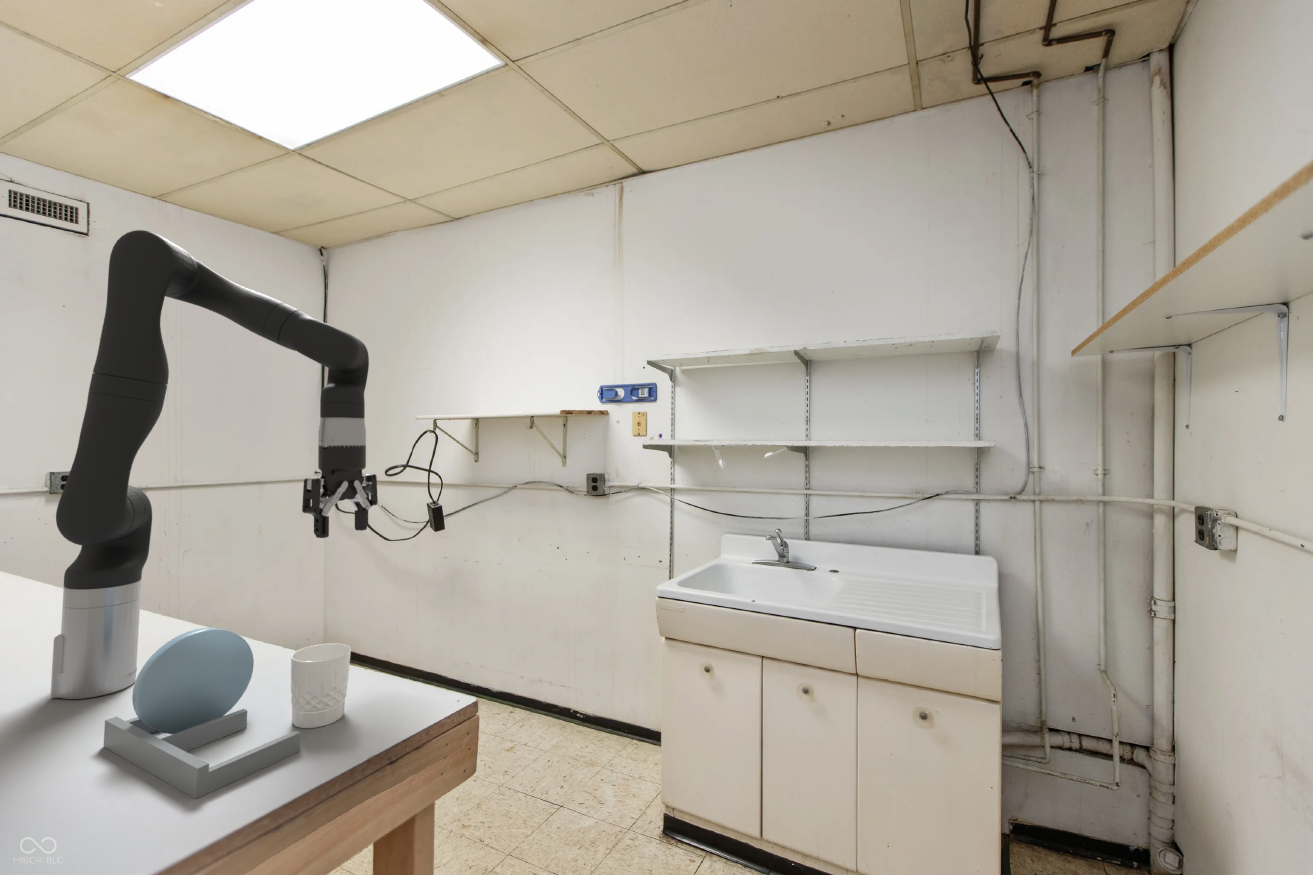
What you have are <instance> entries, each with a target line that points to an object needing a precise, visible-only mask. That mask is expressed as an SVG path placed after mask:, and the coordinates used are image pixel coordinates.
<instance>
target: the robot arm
mask: <svg viewBox="0 0 1313 875" xmlns="http://www.w3.org/2000/svg"><path fill="white" fill-rule="evenodd" d="M108 262H109V263H108V274H107V275H108V277H107V279H108V280H107V292H106V293H107V294H106V305H105V313H104V318H103V324H102V328H101V334H100V338H99V345H98V350H97V354H96V359H95V362H94V365H93V366H94V367H93V370H92V374H91V377H90V378H91V379H90V382H89V388H88V393H87V400H86V407H85V412H84V416H83V420H82V424H81V429H80V432H79V439H78V444H77V449H76V453H75V456H74V459H73V462H72V465H71V468H70V470H69V474H68V476H67V479H66V482H65V484H64V487H63V490H62V493H61V495H60V498H59V501H58V505H57V508H56V513H55V522H56V527H57V529H58V531H59V533H60V534H61V535H62V536H63V538H64V539H66V540H67V542H70V543H72V544H74V545H78V546H80V547H81V548H80V551H79V553H78V555H77V557H76V558H75V559H74V561H73V562H72V563H71V564H70V565H69V566H68V567H67V568H66V570H65V571H64V575H63V590H62V591H63V592H62V609H61V611H62V612H61V628H60V634H58V635H56V636H55V637H54V638H53V645H52V646H53V648H52V663H51V665H52V667H51V681H50V695H49V696H50V697H49V698H50V699H58V698H59V699H65V700H79V699H81V700H82V699H89V698H94V697H101V696H105V695H110V694H113V693H116V692H119V691H122V690H124V689H126V688H128V687H130V686H132V685H134V684H135V681H136V679H137V670H138V668H137V667H138V666H137V664H138V650H139V648H138V647H139V630H140V629H139V627H140V611H141V593H142V574H143V568H144V567H145V565H146V562H147V560H148V557H149V552H150V544H151V534H152V528H153V527H152V525H153V524H152V523H153V508H152V504H151V501H150V498H149V497H148V496H147V494H146V493H145V492H144V491H143V490H141V489H139V487H138V488H137V487H136V486H133V485H129V484H130V482H129V481H130V475H131V472H132V467H133V464H134V460H135V459H136V456H137V453H138V452H139V450H140V448H141V447H142V445H143V444H144V442H145V441H146V440H147V438H148V436H149V435H150V433H151V432H152V430H153V429H154V428H155V425H156V423H157V422H158V420H159V418H160V416H161V413H162V412H163V407H164V402H165V399H166V394H167V393H166V392H167V390H168V384H169V376H170V374H169V373H170V370H169V368H170V367H169V362H168V357H167V356H168V355H167V353H166V352H167V351H166V348H165V344H164V341H163V334H162V328H161V319H162V318H161V317H162V310H163V307H164V303H165V298H166V297H167V298H171V299H174V300H178V301H181V302H184V303H186V304H191V305H195V306H197V307H200V308H203V309H206V310H209V311H210V312H213V313H216V314H217V315H220V316H222V317H224V318H225V319H228V320H230V321H232V322H234V323H235V324H237V325H239V326H240V327H241V328H242V327H243V328H244V329H246V330H248V331H249V332H252V333H253V334H255V335H257V336H259V337H262V338H264V339H266V340H268V341H271V342H273V343H274V344H276V345H279V346H281V347H283V348H286V349H288V350H291V351H294V352H297V353H298V354H300V355H303V356H304V357H306V358H308V359H310V360H312V361H314V362H316V363H318V364H319V365H322V366H324V367H326V368H327V380H326V386H324V387H323V388H322V390H321V392H320V399H319V400H320V402H319V403H320V404H319V416H320V418H319V425H318V436H317V437H318V439H317V440H318V442H317V443H318V446H317V447H318V451H317V452H318V456H317V461H318V462H317V465H318V467H317V468H318V470H320V472H321V475H320V477H306V478H304V480H303V487H302V488H303V489H302V490H303V491H302V507H301V511H302V513H303V514H308V515H312V516H313V534H314V535H315V537H316V538H317V539H326V538H329V536H330V516H329V515H328V514H329V513H330V511H331V510H332V508H333V507H334V506H335V505H336V504H337V503H338V502H341V501H345V500H347V501H349V502H351V503H352V506H354V509H355V510H354V530H355V531H360V532H362V531H366V530H368V526H369V510H370V509H371V507H374V506H377V505H378V502H379V500H378V480H377V478H378V476H377V474H375V473H363V470H365V469H366V466H367V465H366V464H367V430H366V429H367V428H366V420H365V417H366V416H365V413H366V412H365V410H366V409H365V405H366V403H365V390H366V386H367V381H368V375H369V368H370V366H369V365H370V364H369V363H370V361H369V360H370V358H369V351H368V348H367V346H366V345H365V343H364V342H363V341H362V340H360V339H358V337H356V336H354V335H352V334H351V333H349V332H347V331H345V330H343V329H341V328H339V327H336V326H334V325H332V324H329V323H326V322H324V321H321V320H319V319H316V318H313V317H312V316H311V315H309V314H307V313H305V312H304V311H301V310H299V309H297V308H295V307H293V306H291V305H289V304H287V303H284V302H283V301H281V300H279V299H276V298H273V297H271V296H269V295H266V294H264V293H261V292H258V291H256V290H253V289H250V288H247V287H245V286H243V285H240V284H238V283H235V282H234V281H232V280H230V279H227V278H226V277H224V276H222V275H221V274H219V273H217V272H216V271H214V270H212V268H210V267H208V266H207V265H206V264H204V263H202V262H201V261H200V260H198V259H196V258H195V257H193V256H192V255H191V254H190V253H189V252H188V251H187V250H185V249H184V248H183V247H180V246H179V245H177V244H175V243H173V242H172V241H170V240H169V239H167V238H165V237H163V236H161V235H160V234H157V233H155V232H153V231H149V230H145V229H136V230H132V231H128V232H126V233H125V234H123V235H121V236H120V238H118V239H117V240H116V242H115V243H114V245H113V247H112V249H111V253H110V256H109V261H108Z"/></svg>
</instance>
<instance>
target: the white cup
mask: <svg viewBox="0 0 1313 875" xmlns="http://www.w3.org/2000/svg"><path fill="white" fill-rule="evenodd" d="M351 652H352V647H351V646H349V645H348V644H345V643H337V642H331V643H330V642H329V643H319V644H314V645H309V646H306V647H302V648H300V649H297V650H296V651H294V652H293V653H292V654H291V655H290V693H291V698H290V701H291V702H290V703H291V709H292V710H291V722H292V724H293V725H294V727H297V728H301V729H314V728H319V727H320V728H321V727H324V726H325V727H326V726H328V725H331V724H333V723H335V722H337V721H338V720H340V719H341V718H342V717H343V715H344V713H345V705H346V704H345V703H346V697H347V691H348V683H349V682H348V681H349V676H350V675H349V674H350V673H349V672H350V662H351Z"/></svg>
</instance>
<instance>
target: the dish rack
mask: <svg viewBox="0 0 1313 875" xmlns="http://www.w3.org/2000/svg"><path fill="white" fill-rule="evenodd" d="M254 662H255V660H254V654H253V651H252V648H251V646H250V645H249V642H247V640H246V639H245V638H243V637H242V636H241V635H239V634H238V633H235V632H233V631H229V630H227V629H223V628H218V627H202V628H195V629H192V630H190V631H186V632H184V633H181V634H179V635H177V636H175V637H173V638H171V639H170V640H169V641H168V642H165V644H163V645H162V646H160V647H159V648H158V649H157V650H156V651H155V652H154V653H153V654H152V655H151V656H150V657H149V658H148V660H147V661H146V662H145V664H143V666H142V668H141V670H140V671H139V672H138V675H137V676H136V681H135V682H134V684H133V687H132V688H133V689H132V696H131V698H132V706H133V710H134V712H135V715H136V717H133V718H130V719H127V720H125V719H122V718H120V717H118V716H114V717H111V718H108V719H105V720H104V734H103V747H104V748H106V749H107V750H109V751H111V752H112V753H115V754H116V755H118V756H120V757H121V758H123V759H125V760H126V761H129V762H130V763H132V764H134V765H135V766H138V767H139V768H141V769H142V770H144V771H146V772H147V773H149V774H151V775H153V776H154V777H156V778H158V779H160V780H162V781H164V782H165V783H167V784H169V785H170V786H173V787H174V788H176V789H178V790H179V791H181V792H182V793H184V794H186V795H188V796H190V797H192V798H194V799H199V798H200V797H203V796H204V795H208V794H210V793H212V792H214V791H216V790H218V789H220V788H222V787H224V786H227V785H229V784H231V783H234V782H235V781H237V780H240V779H242V778H244V777H247V776H249V775H250V774H253V773H255V772H257V771H259V770H261V769H264V768H266V767H269V766H270V765H272V764H275V763H277V762H279V761H281V760H284V759H285V758H287V757H290V756H292V755H294V754H297V753H298V752H300V751H301V736H302V735H301V732H300V731H298V730H294V731H292V732H290V733H287V734H285V735H283V736H280V737H278V738H275V739H273V740H270V741H269V742H267V743H263V744H262V745H259V746H257V747H254V748H252V749H250V750H247V751H245V752H243V753H240V754H238V755H236V756H233V757H231V758H228V759H226V760H223V761H221V762H219V763H216V764H215V765H213V766H210V763H209V762H206V761H205V760H203V759H201V758H199V757H197V756H195V755H193V754H191V753H189V752H188V751H191V750H193V749H196V748H199V747H200V746H203V745H205V744H206V745H207V744H209V743H211V742H214V741H216V740H219V739H221V738H224V737H227V736H229V735H232V734H234V733H236V732H239V731H242V730H244V729H247V725H248V710H247V709H245V708H242V709H239V710H236V711H233V712H230V711H231V710H233V708H234V707H235V705H236V704H237V703H238V702H239V701H240V699H241V698H242V697H243V695H244V693H245V692H246V691H247V688H248V686H249V684H250V682H251V679H252V677H253V676H252V675H253V672H254V667H255V666H254ZM228 712H230V713H228ZM227 713H228V714H227ZM155 732H160V733H162V734H167V736H165V737H162V738H160V737H158V736H156V735H154V734H152V733H155Z"/></svg>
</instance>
